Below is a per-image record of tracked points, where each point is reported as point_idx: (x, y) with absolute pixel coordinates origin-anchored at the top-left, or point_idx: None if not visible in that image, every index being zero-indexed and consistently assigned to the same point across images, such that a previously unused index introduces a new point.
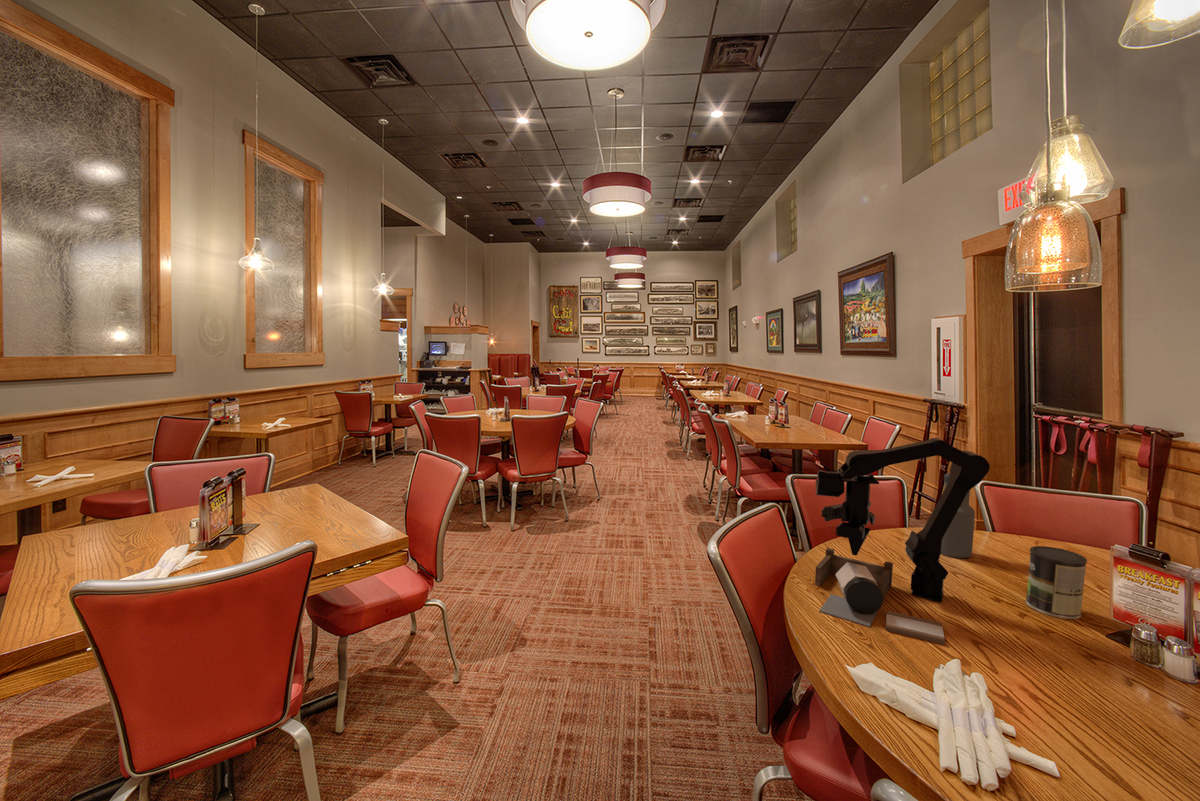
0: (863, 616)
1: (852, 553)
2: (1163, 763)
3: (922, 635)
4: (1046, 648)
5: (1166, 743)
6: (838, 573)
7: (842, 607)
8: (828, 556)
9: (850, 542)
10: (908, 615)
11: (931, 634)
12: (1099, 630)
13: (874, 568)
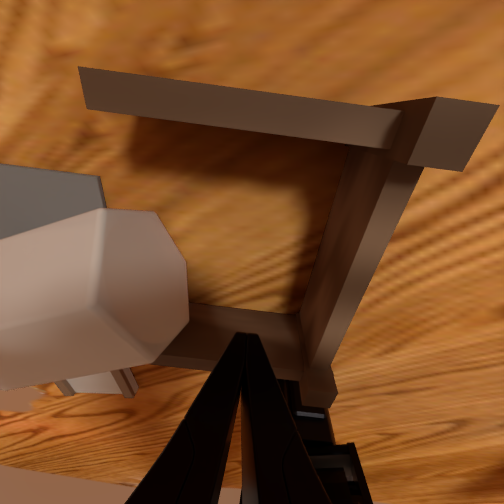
0: None
1: (234, 338)
2: (23, 464)
3: None
4: None
5: (60, 470)
6: (71, 232)
7: (26, 225)
8: (365, 131)
9: (173, 441)
10: None
11: (63, 383)
12: None
13: (316, 335)
